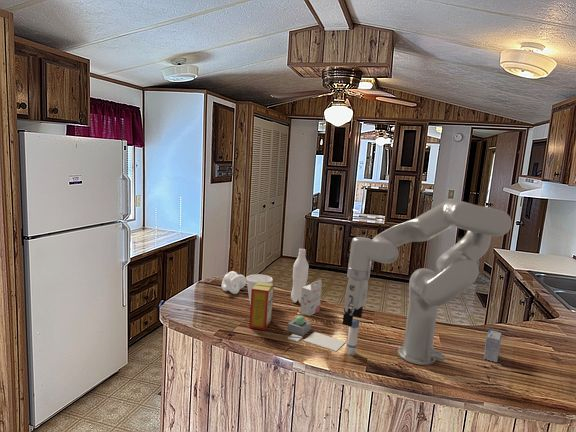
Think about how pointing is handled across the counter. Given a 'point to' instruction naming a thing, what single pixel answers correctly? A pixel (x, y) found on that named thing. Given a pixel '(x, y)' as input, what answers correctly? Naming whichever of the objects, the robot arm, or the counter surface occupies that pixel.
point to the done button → (300, 320)
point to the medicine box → (492, 346)
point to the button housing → (299, 327)
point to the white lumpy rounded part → (233, 282)
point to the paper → (324, 341)
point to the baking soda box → (261, 305)
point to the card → (295, 337)
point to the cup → (254, 279)
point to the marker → (352, 337)
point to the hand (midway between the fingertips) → (352, 320)
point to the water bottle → (299, 275)
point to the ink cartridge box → (311, 298)
